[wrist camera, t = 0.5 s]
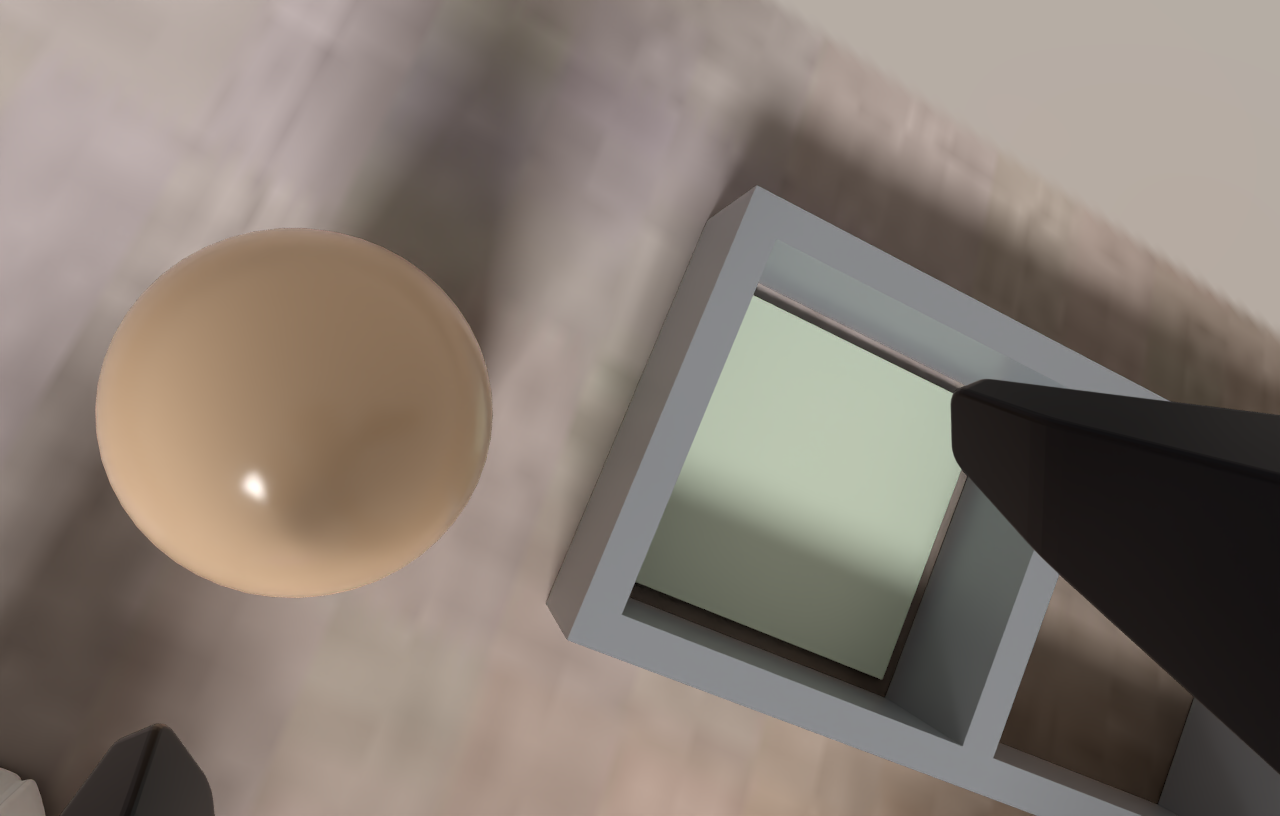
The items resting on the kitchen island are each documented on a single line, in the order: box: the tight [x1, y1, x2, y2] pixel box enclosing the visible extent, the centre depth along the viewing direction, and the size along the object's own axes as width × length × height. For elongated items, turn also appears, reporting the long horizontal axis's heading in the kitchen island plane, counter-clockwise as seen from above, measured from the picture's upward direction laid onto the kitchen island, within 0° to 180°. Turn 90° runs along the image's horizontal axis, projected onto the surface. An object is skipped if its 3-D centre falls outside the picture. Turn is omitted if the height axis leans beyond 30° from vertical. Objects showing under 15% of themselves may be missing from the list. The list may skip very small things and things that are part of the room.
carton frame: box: [546, 185, 1280, 816], centre depth 25 cm, size 12×23×4 cm, turn 66°
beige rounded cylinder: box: [95, 228, 493, 598], centre depth 16 cm, size 5×5×14 cm
